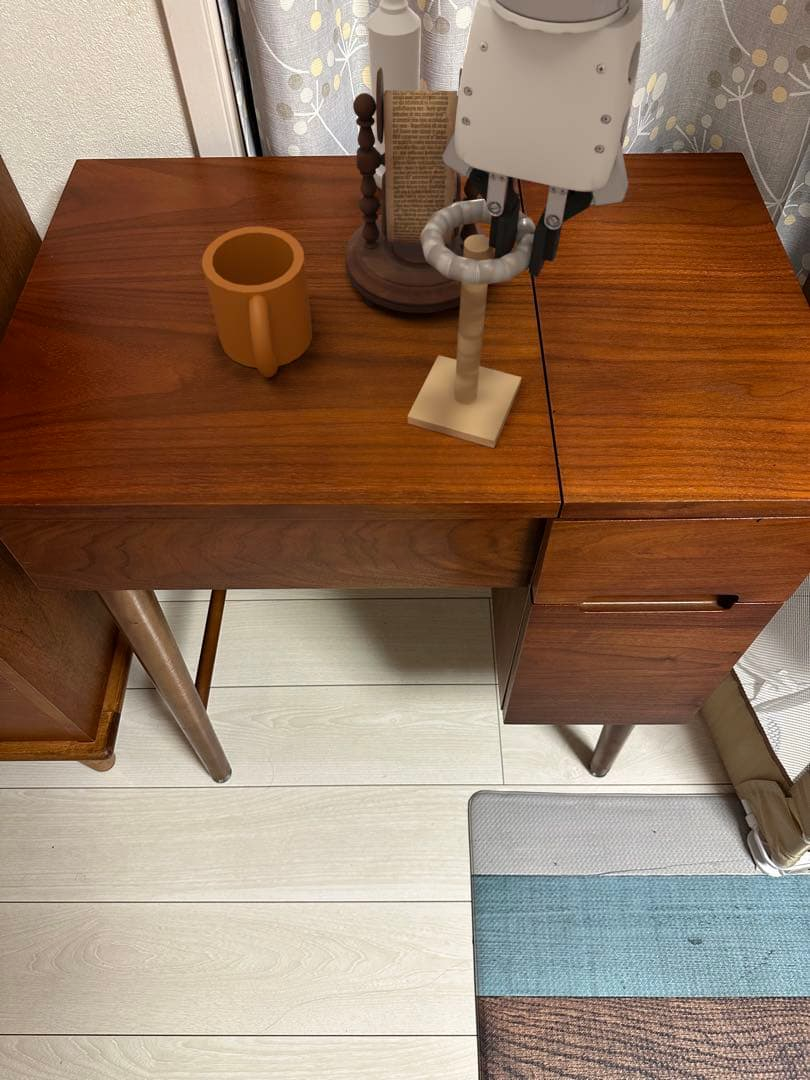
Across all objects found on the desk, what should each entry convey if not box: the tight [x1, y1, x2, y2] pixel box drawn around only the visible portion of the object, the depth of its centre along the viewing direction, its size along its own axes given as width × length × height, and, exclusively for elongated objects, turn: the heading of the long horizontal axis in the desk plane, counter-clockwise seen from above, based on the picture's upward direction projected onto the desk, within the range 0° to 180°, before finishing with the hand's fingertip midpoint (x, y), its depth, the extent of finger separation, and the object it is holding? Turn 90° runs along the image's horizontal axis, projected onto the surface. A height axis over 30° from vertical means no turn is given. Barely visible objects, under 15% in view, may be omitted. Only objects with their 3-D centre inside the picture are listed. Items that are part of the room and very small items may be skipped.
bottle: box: [366, 0, 422, 191], centre depth 80 cm, size 5×5×25 cm
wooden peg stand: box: [407, 235, 522, 449], centre depth 66 cm, size 8×8×17 cm
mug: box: [201, 225, 313, 378], centre depth 73 cm, size 9×12×9 cm
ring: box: [420, 198, 536, 285], centre depth 58 cm, size 8×8×2 cm
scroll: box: [344, 67, 495, 314], centre depth 74 cm, size 15×15×20 cm
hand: (521, 258), depth 58 cm, fingers closed on ring, 2 cm apart
